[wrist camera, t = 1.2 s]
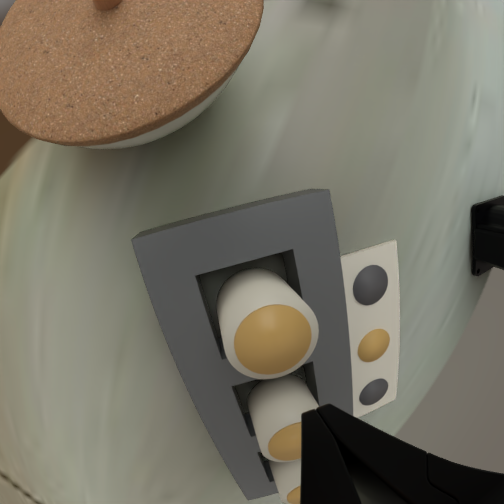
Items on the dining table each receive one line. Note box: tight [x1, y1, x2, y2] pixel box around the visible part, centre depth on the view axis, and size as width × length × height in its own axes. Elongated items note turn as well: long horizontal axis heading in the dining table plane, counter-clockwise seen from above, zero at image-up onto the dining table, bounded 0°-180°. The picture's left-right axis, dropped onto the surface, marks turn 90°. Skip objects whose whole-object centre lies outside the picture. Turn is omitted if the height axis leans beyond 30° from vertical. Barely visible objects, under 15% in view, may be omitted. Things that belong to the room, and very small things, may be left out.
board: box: [131, 189, 353, 500], centre depth 18 cm, size 10×24×2 cm, turn 13°
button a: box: [216, 268, 319, 379], centre depth 14 cm, size 4×4×4 cm
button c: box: [268, 459, 301, 504], centre depth 17 cm, size 4×4×4 cm
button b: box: [247, 374, 319, 462], centre depth 15 cm, size 4×4×4 cm
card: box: [340, 240, 400, 418], centre depth 20 cm, size 5×15×1 cm, turn 13°
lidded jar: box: [0, 0, 264, 149], centre depth 9 cm, size 11×11×9 cm
